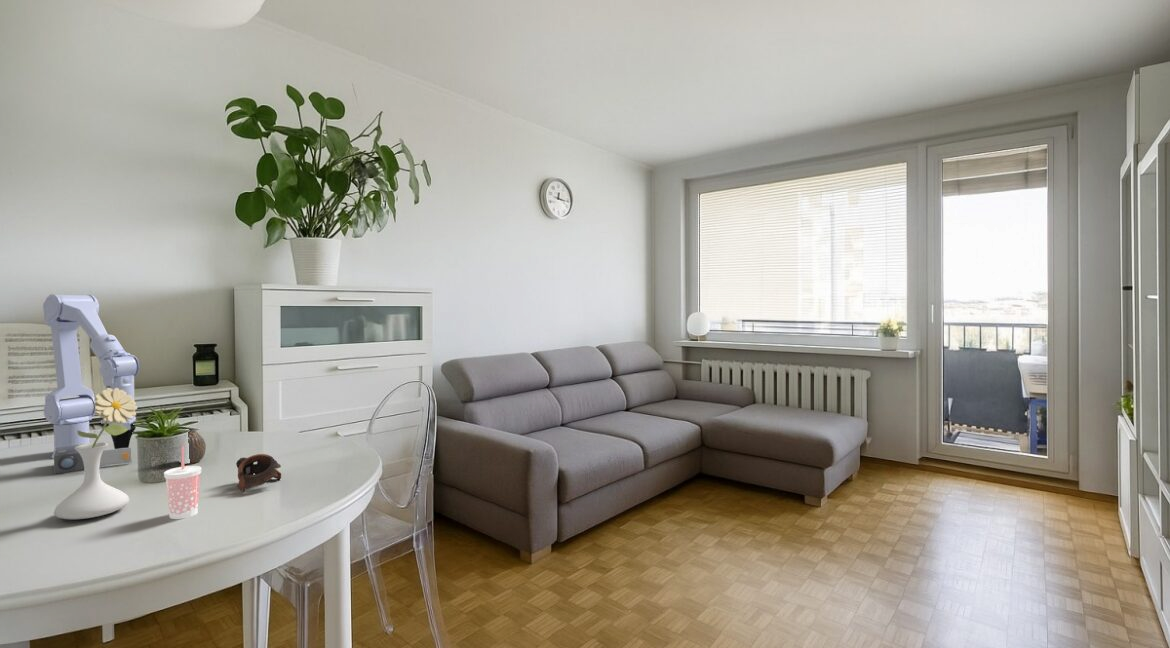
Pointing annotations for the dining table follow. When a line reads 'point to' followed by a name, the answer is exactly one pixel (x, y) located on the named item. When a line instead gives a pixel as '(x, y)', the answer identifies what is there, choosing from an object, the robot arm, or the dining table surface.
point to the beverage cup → (183, 489)
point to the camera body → (67, 459)
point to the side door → (116, 456)
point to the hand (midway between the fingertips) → (121, 453)
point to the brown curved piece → (256, 470)
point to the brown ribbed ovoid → (196, 446)
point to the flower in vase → (94, 492)
